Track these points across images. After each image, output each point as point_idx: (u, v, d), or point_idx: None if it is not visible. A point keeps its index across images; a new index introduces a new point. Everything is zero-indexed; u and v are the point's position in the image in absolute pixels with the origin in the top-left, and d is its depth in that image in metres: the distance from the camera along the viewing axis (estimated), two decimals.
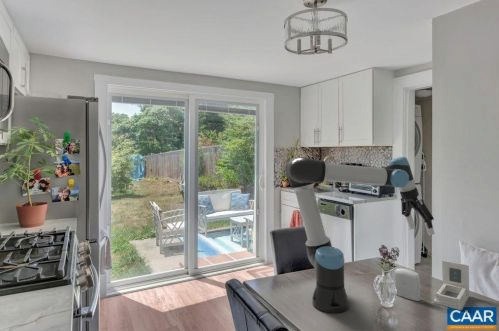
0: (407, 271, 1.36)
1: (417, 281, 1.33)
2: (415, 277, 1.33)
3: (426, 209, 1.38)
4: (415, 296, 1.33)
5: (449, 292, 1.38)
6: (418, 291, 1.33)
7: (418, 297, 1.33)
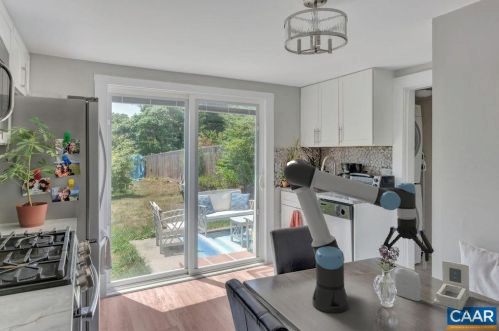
0: (407, 271, 1.36)
1: (417, 281, 1.33)
2: (415, 277, 1.33)
3: (427, 240, 1.32)
4: (415, 296, 1.33)
5: (449, 292, 1.38)
6: (418, 291, 1.33)
7: (418, 297, 1.33)
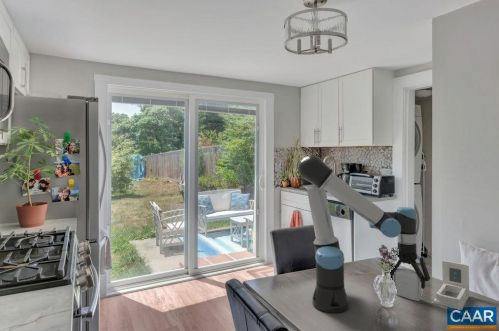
0: (407, 271, 1.36)
1: (417, 281, 1.33)
2: (415, 277, 1.33)
3: (426, 268, 1.32)
4: (415, 296, 1.33)
5: (449, 292, 1.38)
6: (418, 291, 1.33)
7: (418, 297, 1.33)
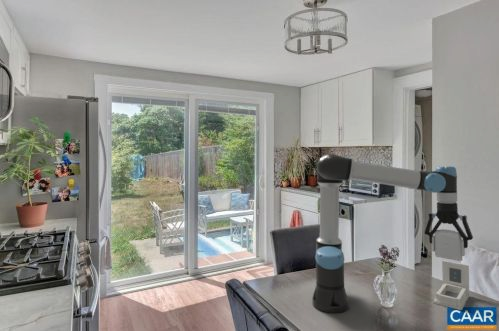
0: (448, 231, 1.32)
1: (459, 240, 1.29)
2: (457, 236, 1.29)
3: (468, 227, 1.29)
4: (457, 256, 1.29)
5: (449, 292, 1.38)
6: (460, 251, 1.29)
7: (460, 257, 1.29)
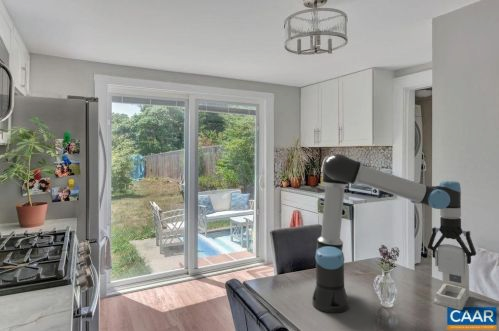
0: (451, 246, 1.32)
1: (463, 256, 1.29)
2: (460, 252, 1.29)
3: None
4: (461, 271, 1.29)
5: (449, 292, 1.38)
6: (464, 266, 1.29)
7: (464, 272, 1.29)
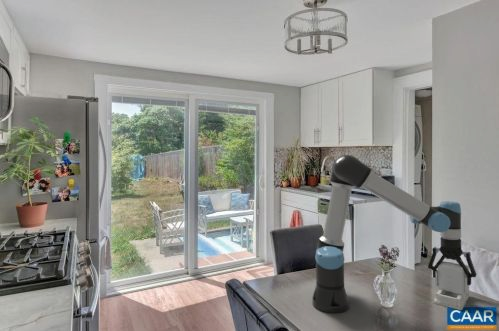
0: (451, 264, 1.32)
1: (463, 274, 1.29)
2: (460, 270, 1.29)
3: (472, 264, 1.29)
4: (461, 290, 1.29)
5: (449, 292, 1.38)
6: (464, 285, 1.29)
7: (464, 291, 1.29)
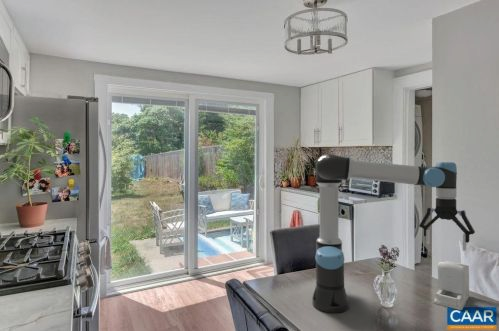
0: (451, 264, 1.32)
1: (463, 274, 1.29)
2: (460, 270, 1.29)
3: (468, 221, 1.28)
4: (461, 290, 1.29)
5: (449, 292, 1.38)
6: (464, 285, 1.29)
7: (464, 291, 1.29)
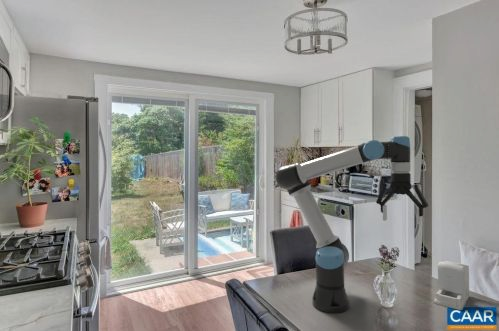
0: (451, 264, 1.32)
1: (463, 274, 1.29)
2: (460, 270, 1.29)
3: (422, 195, 1.26)
4: (461, 290, 1.29)
5: (449, 292, 1.38)
6: (464, 285, 1.29)
7: (464, 291, 1.29)
